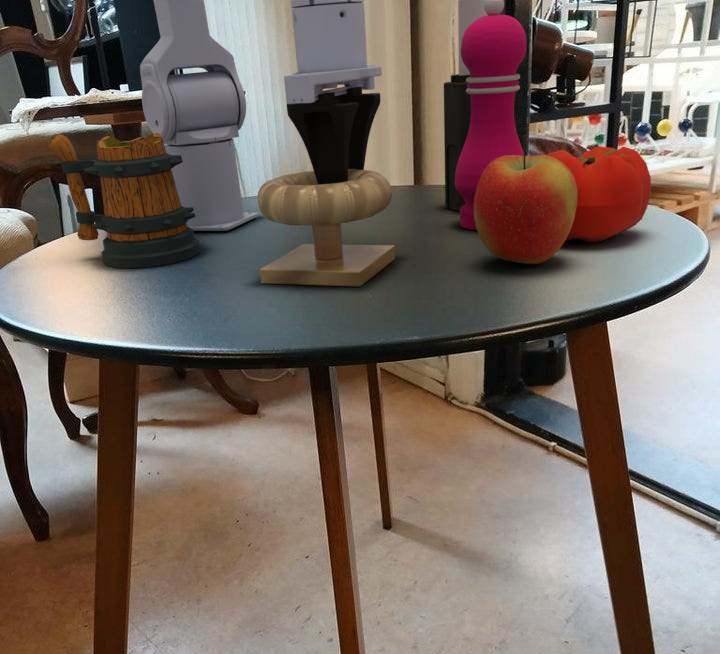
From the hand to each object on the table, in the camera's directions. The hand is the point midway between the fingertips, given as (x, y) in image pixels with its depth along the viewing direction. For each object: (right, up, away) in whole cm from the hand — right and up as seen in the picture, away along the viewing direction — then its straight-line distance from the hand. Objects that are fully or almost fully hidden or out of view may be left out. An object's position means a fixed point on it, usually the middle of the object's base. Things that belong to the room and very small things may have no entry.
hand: (341, 189), depth 67 cm
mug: (-21, -3, +10) cm, 23 cm away
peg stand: (-1, -7, 0) cm, 7 cm away
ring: (-1, -2, -3) cm, 4 cm away
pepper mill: (+15, +1, +12) cm, 19 cm away
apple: (+15, -7, -2) cm, 17 cm away
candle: (+14, +5, +20) cm, 26 cm away
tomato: (+23, -3, +4) cm, 23 cm away
